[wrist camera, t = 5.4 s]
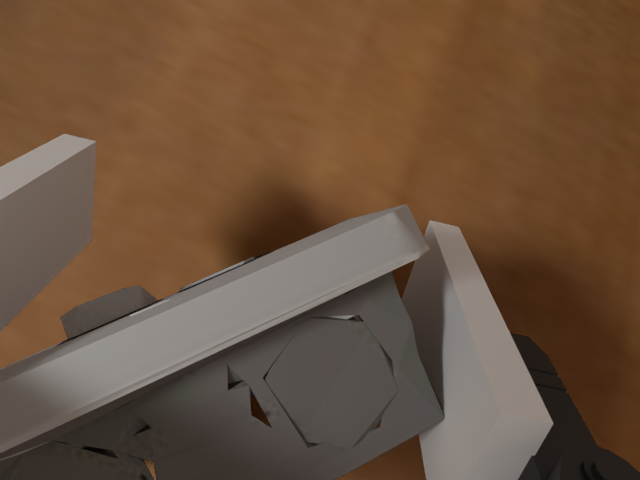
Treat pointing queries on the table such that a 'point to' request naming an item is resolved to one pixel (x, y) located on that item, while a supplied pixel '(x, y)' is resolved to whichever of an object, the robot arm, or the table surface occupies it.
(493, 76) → the table surface
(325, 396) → the electrical switch
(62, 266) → the robot arm
